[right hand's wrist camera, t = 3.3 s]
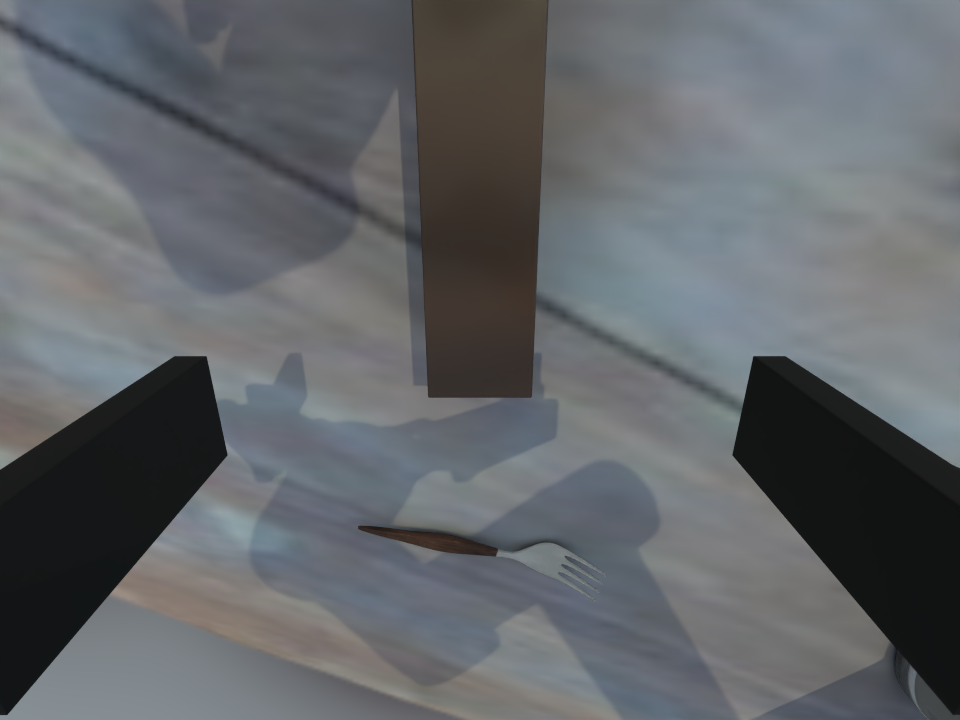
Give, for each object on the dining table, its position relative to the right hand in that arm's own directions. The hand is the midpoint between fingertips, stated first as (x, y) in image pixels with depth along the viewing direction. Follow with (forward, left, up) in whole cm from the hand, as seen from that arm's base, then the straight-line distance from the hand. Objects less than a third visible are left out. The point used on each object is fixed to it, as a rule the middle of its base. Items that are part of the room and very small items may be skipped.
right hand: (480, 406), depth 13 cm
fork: (-18, 0, -16) cm, 24 cm away
